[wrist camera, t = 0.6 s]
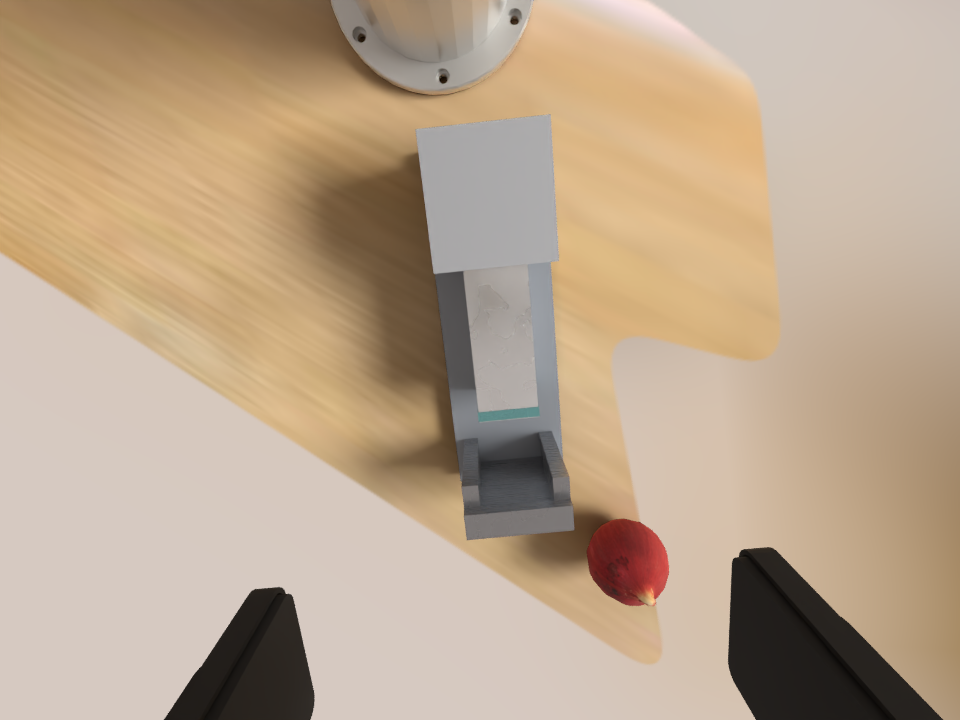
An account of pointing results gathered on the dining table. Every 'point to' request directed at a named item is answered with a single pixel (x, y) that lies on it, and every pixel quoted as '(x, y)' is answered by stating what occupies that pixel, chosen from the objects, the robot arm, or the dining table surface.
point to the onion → (628, 562)
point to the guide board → (465, 379)
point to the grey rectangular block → (502, 342)
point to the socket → (516, 493)
